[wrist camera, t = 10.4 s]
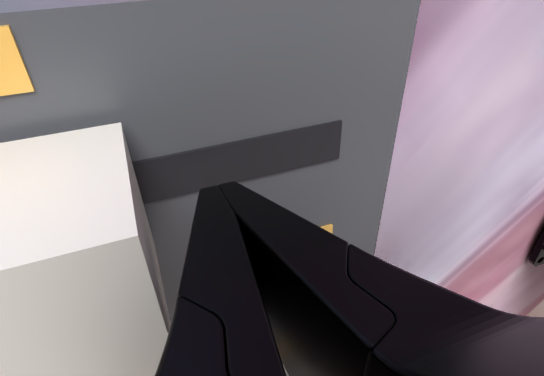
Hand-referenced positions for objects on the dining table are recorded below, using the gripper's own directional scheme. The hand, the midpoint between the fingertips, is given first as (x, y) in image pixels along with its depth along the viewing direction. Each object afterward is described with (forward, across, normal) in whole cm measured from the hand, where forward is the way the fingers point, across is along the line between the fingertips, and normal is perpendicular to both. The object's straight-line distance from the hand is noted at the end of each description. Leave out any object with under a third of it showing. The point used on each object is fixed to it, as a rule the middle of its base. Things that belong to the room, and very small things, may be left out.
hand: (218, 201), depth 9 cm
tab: (+1, +3, 0) cm, 3 cm away
